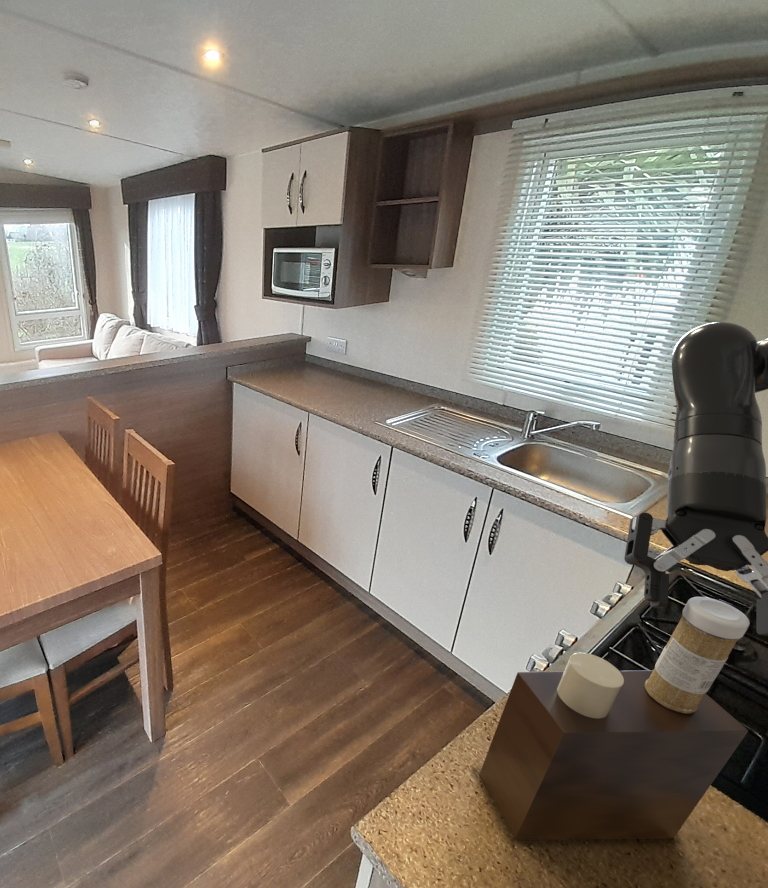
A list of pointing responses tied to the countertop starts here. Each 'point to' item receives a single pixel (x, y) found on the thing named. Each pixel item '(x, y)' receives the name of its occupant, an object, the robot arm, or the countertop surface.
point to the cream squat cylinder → (590, 685)
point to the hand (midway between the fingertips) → (711, 620)
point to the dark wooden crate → (603, 762)
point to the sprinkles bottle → (695, 653)
